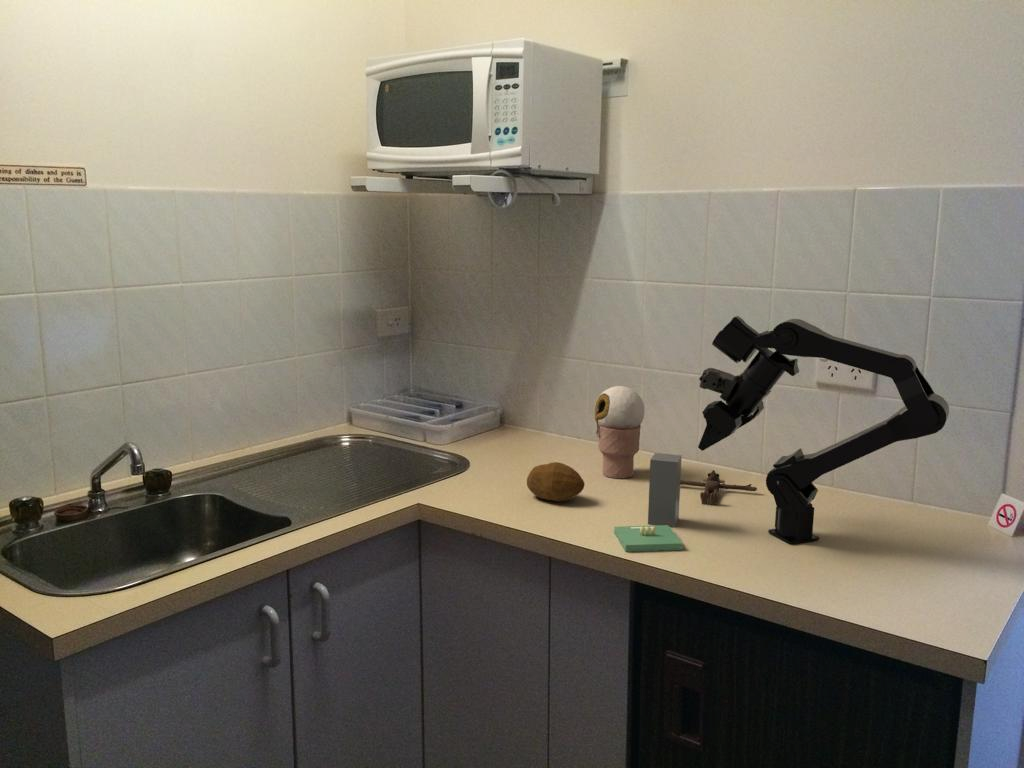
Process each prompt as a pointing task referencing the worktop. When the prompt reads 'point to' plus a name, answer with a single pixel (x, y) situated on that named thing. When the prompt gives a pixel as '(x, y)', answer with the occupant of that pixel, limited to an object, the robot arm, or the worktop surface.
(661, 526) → the header board
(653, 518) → the grey rectangular block
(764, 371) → the robot arm
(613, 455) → the ice cream cone
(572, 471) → the potato
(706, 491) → the brown clay figure
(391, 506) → the worktop surface
